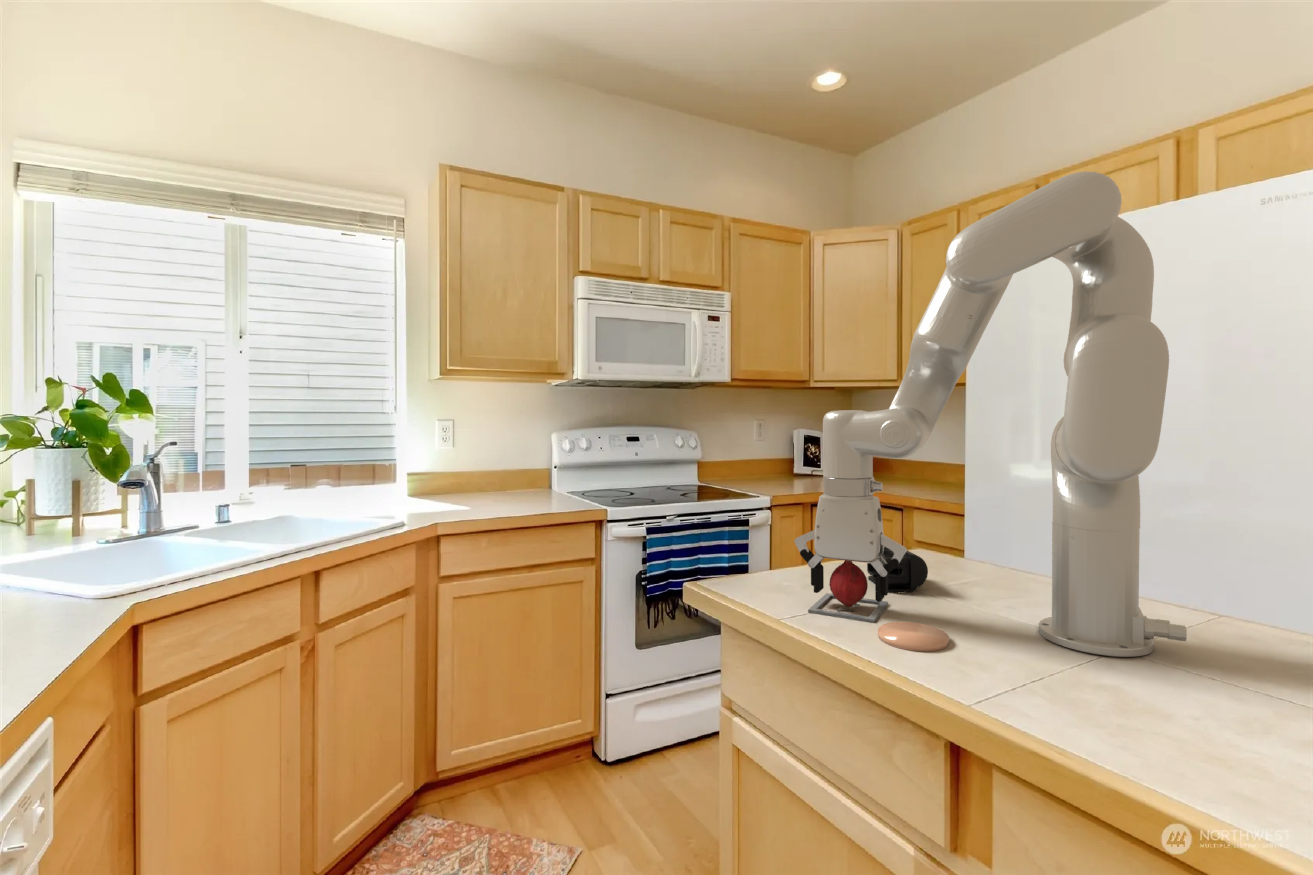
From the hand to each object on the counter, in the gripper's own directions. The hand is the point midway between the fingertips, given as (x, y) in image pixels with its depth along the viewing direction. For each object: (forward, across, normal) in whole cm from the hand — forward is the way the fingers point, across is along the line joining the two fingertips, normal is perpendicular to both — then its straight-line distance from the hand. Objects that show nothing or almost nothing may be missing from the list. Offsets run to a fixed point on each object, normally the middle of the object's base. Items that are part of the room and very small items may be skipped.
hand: (848, 594), depth 98 cm
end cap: (+2, -4, -17) cm, 18 cm away
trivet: (+2, -11, +9) cm, 14 cm away
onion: (+2, 0, 0) cm, 2 cm away
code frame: (+2, 0, 0) cm, 2 cm away
